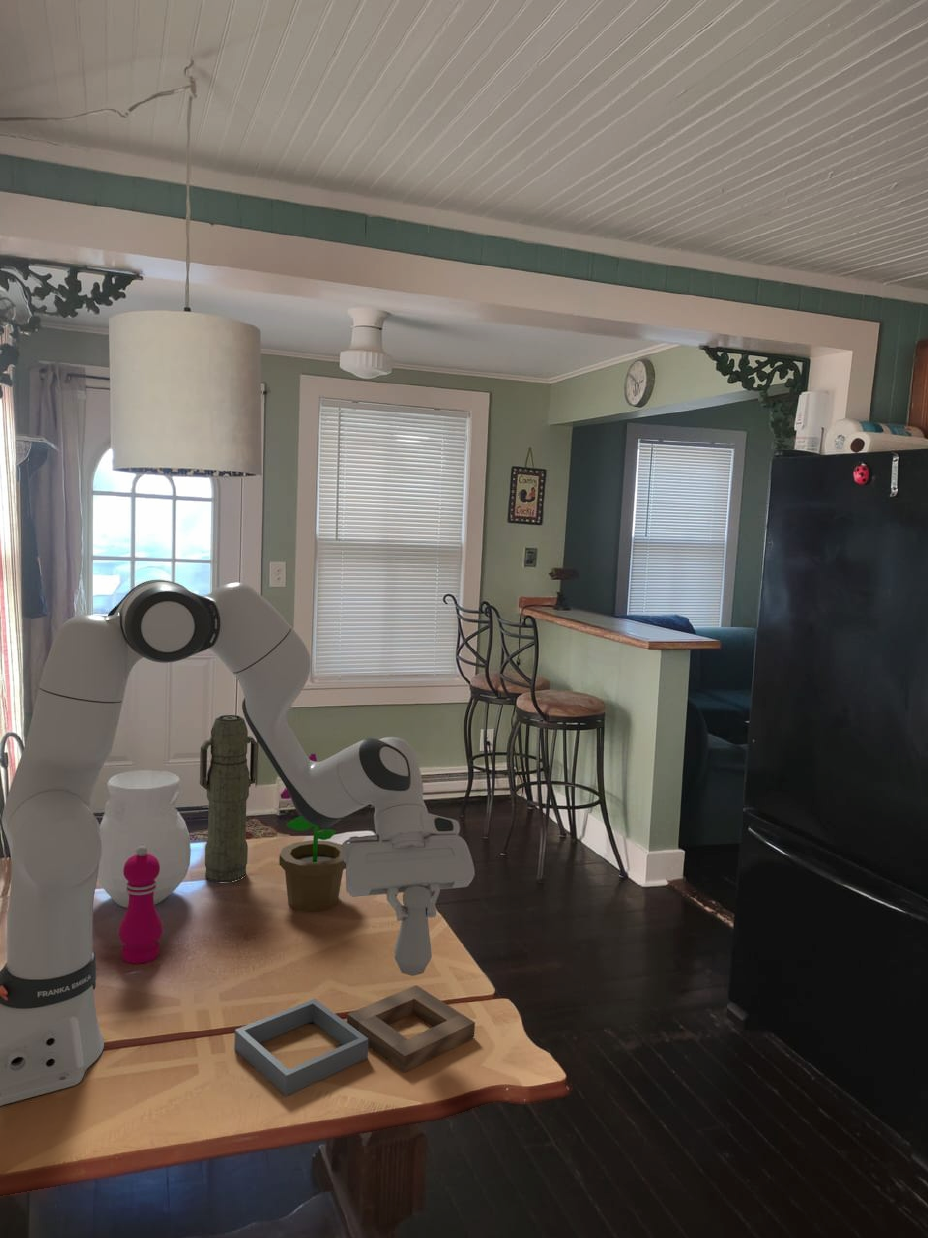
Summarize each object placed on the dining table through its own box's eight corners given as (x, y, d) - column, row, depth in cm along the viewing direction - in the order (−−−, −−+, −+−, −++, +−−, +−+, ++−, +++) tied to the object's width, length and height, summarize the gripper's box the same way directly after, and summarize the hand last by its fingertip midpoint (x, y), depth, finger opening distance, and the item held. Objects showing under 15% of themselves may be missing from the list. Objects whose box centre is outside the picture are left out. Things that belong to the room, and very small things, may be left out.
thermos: (191, 873, 194) (194, 715, 190) (242, 863, 201) (246, 710, 198) (207, 888, 187) (211, 724, 183) (259, 876, 195) (264, 719, 191)
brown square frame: (404, 1072, 129) (404, 1056, 128) (346, 1029, 139) (347, 1014, 138) (474, 1037, 138) (474, 1022, 138) (415, 999, 148) (416, 985, 148)
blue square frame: (285, 1096, 122) (286, 1075, 122) (234, 1049, 132) (234, 1030, 132) (367, 1058, 132) (368, 1039, 131) (314, 1016, 142) (314, 998, 141)
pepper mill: (112, 952, 158) (113, 843, 156) (152, 942, 163) (154, 836, 161) (127, 969, 153) (128, 857, 151) (168, 958, 157) (170, 848, 155)
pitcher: (137, 928, 168) (138, 799, 165) (72, 903, 177) (72, 780, 174) (209, 894, 184) (212, 776, 182) (147, 873, 193) (148, 760, 190)
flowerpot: (320, 881, 194) (325, 746, 191) (362, 903, 184) (368, 761, 181) (264, 898, 184) (268, 756, 181) (305, 923, 174) (310, 772, 171)
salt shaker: (421, 983, 134) (427, 902, 132) (387, 973, 136) (392, 893, 134) (436, 963, 140) (442, 886, 137) (403, 954, 142) (408, 878, 139)
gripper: (342, 828, 138) (353, 916, 130) (468, 821, 145) (485, 904, 137) (336, 846, 143) (346, 932, 135) (458, 837, 150) (474, 919, 141)
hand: (417, 918), depth 136 cm, fingers closed on salt shaker, 3 cm apart
